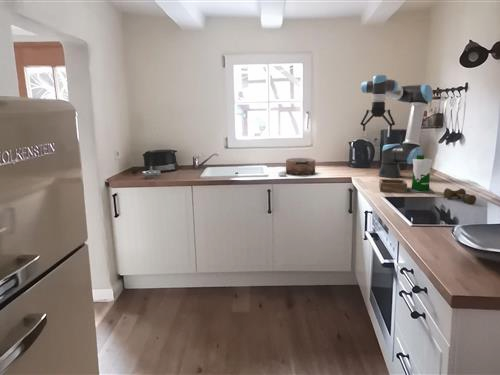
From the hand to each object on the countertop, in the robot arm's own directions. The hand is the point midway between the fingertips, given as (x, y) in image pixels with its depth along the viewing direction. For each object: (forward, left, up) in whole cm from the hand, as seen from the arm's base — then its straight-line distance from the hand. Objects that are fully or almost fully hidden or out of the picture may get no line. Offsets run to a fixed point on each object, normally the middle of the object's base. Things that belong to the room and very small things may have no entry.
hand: (376, 136), depth 238 cm
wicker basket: (-41, -53, -31) cm, 74 cm away
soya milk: (+12, +26, -30) cm, 41 cm away
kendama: (+33, +41, -31) cm, 61 cm away
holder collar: (+12, +10, -31) cm, 34 cm away
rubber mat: (+12, +26, -31) cm, 42 cm away
